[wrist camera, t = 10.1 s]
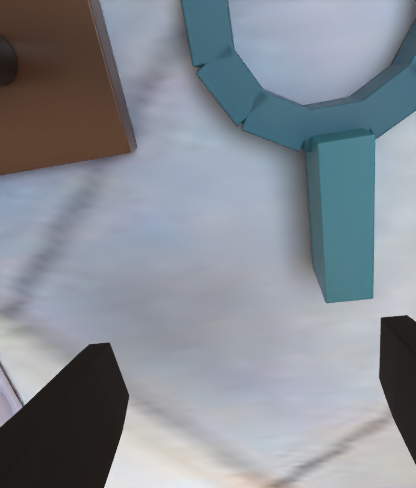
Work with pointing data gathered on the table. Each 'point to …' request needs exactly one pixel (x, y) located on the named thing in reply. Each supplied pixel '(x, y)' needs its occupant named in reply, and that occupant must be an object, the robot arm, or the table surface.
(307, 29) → the table surface
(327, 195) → the ring
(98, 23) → the ring stand
